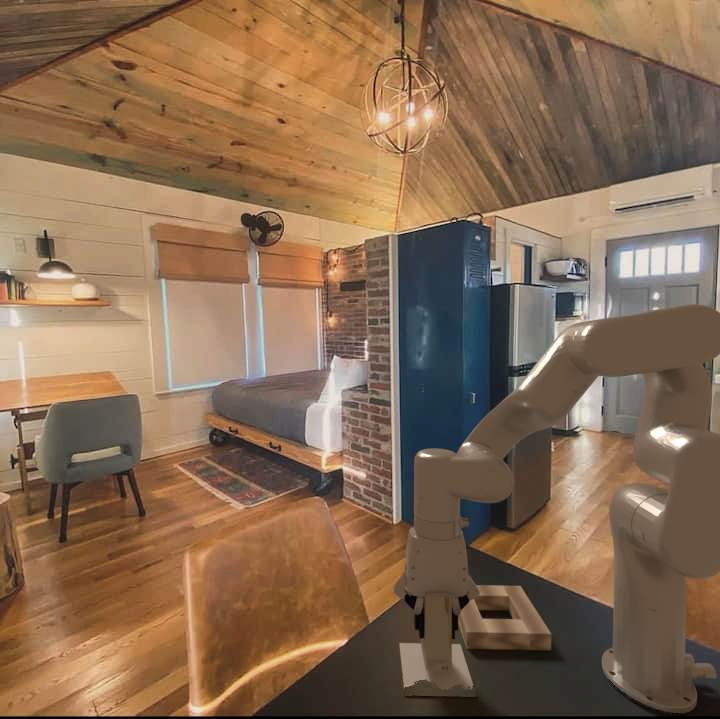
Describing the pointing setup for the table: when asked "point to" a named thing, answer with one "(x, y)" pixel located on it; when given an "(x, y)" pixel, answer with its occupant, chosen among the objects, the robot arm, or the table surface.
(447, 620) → the skincare box
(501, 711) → the table surface
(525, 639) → the holder
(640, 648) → the robot arm
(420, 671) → the mat
